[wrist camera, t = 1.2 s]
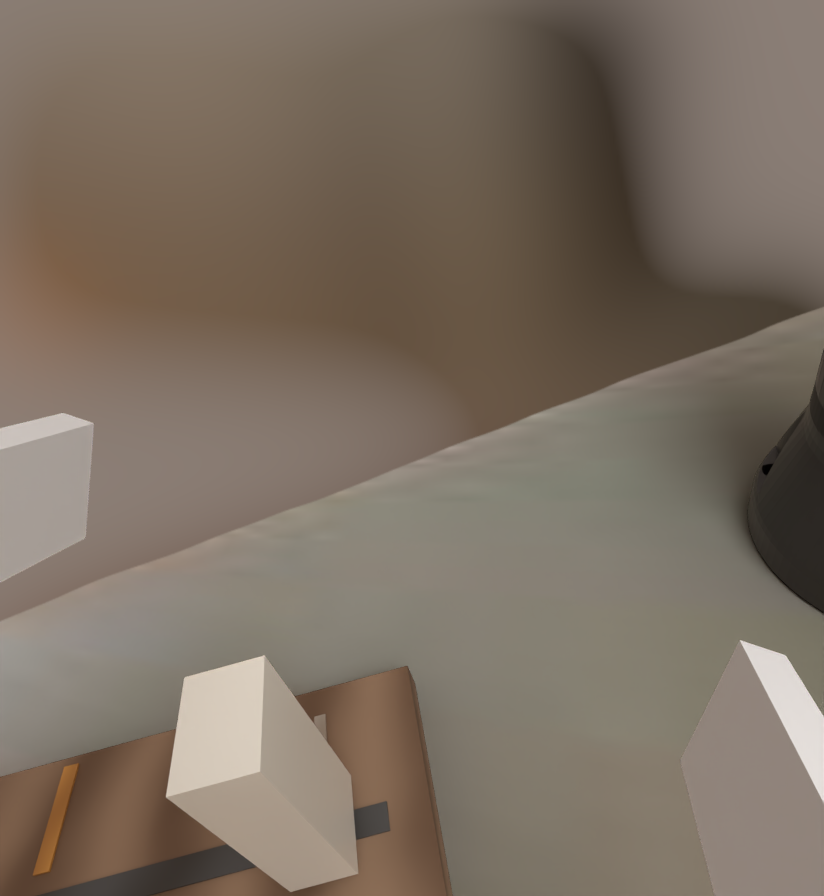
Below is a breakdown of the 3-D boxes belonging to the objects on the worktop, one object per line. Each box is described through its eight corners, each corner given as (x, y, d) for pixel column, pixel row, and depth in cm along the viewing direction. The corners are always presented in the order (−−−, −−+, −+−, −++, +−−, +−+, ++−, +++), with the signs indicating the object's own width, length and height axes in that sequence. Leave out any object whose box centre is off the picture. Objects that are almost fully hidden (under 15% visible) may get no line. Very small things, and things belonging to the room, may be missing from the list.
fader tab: (351, 775, 28) (264, 655, 21) (358, 873, 25) (260, 771, 18) (290, 791, 28) (184, 677, 21) (290, 892, 25) (165, 797, 18)
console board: (414, 683, 33) (406, 664, 32) (475, 1021, 22) (466, 1014, 21) (11, 793, 33) (-13, 779, 32) (-123, 1180, 23) (-168, 1182, 21)
